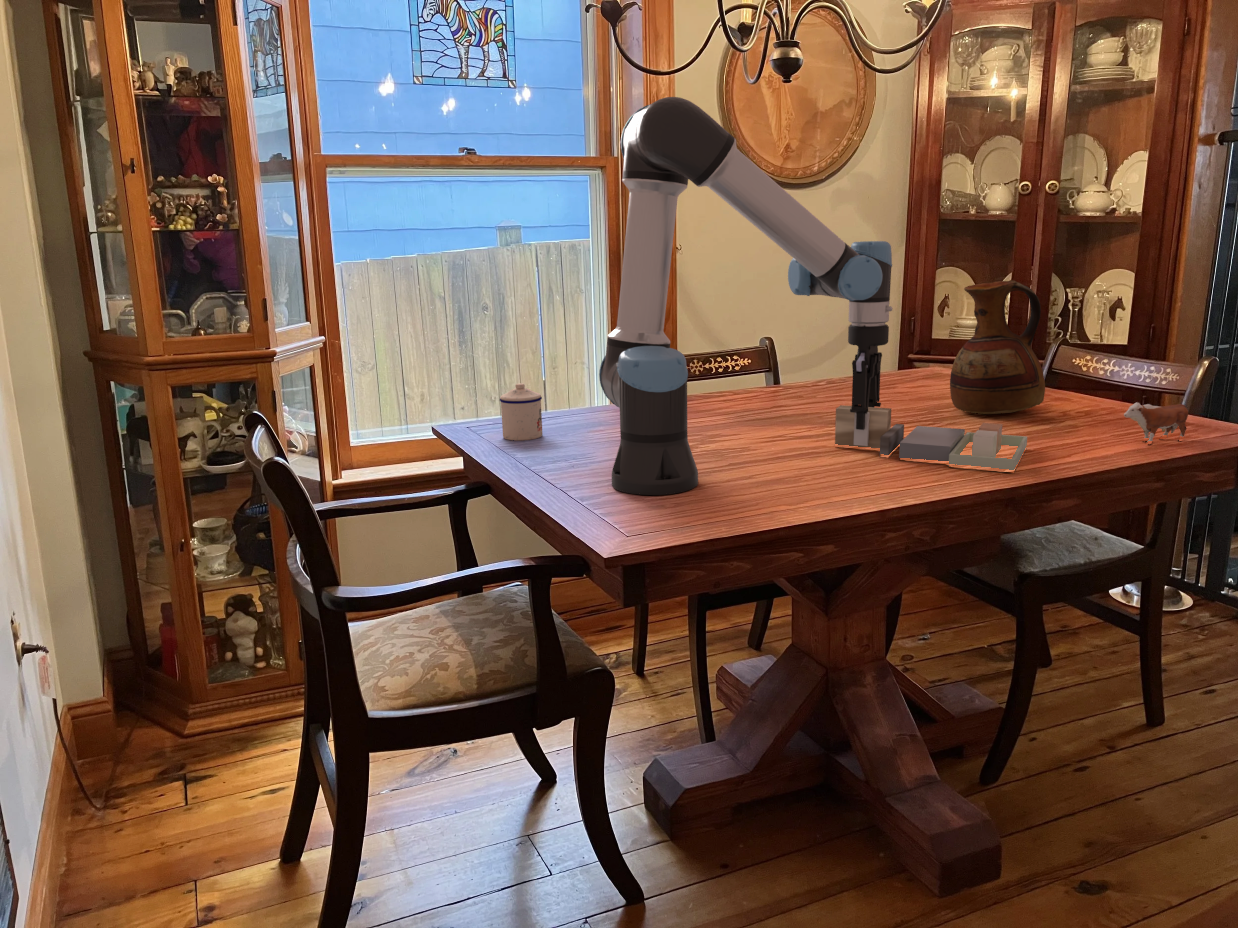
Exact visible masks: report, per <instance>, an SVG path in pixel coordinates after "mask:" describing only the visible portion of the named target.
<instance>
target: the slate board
mask: <svg viewBox="0 0 1238 928" xmlns="http://www.w3.org/2000/svg"><path fill="white" fill-rule="evenodd" d="M965 431H966V429H964V428H955V427H953V428H952V427H940V426H939V427H938V426H928V425H927V426H925V425H924V426H923V425H917V426H915V428H913V429H912V430H911V432H909V433H908V434H907V435H906V436H904V439H903V440H902V441H901V442H900V447H899V448H898V450H899V452H898V454H899V455H898V459H899V458H910V459H911V458H912V459H924V460H925V459H926V460H938V461H949V454H950V453H951V452H952V450H953V449H954V448H955V447H956V445H957V444H958V443H959V442H960V440H961V439H962V438H963V437H964V436H965V434H966V433H965Z"/></svg>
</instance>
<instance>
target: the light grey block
mask: <svg viewBox="0 0 1238 928" xmlns="http://www.w3.org/2000/svg"><path fill="white" fill-rule="evenodd" d="M974 433H975V434H974V435H973V445H972V456H983V457H996V447H997V433H998V432H997V431H983V430H979V429H977V430H976V431H975V432H974Z"/></svg>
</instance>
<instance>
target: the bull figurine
mask: <svg viewBox="0 0 1238 928" xmlns="http://www.w3.org/2000/svg"><path fill="white" fill-rule="evenodd" d="M1123 416H1124V418H1127V419H1131V420H1133V421H1134V422H1137V424H1138V426H1139V427H1140V428H1141V430H1142V431H1143V434H1144V438H1149V440H1148V441H1153V439H1154V437H1155V436H1156V433H1157V431H1158V429H1161V432H1163V434H1162V435H1167V436H1169V435H1168V434H1169V433H1171V434H1174V432H1175V431H1176V430H1177V429H1179V430H1180V435H1179V437H1180V436H1182V437H1183V436H1184V437H1185V434H1186V432H1187V425H1186V422H1187V420H1188V417H1189V410H1188V409H1187V407H1186V405H1185V404H1183V403H1178V404H1173V405H1172V404H1171V405H1165V406H1158V405H1152V404H1150V403H1147V404H1142V405H1141V403H1140V402H1138V401H1137V402H1135V403H1133V404H1132V405H1130V406H1129V407H1128V410H1126V411H1125V412H1124V413H1123ZM1148 441H1147V442H1148Z"/></svg>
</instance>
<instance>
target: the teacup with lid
mask: <svg viewBox="0 0 1238 928" xmlns="http://www.w3.org/2000/svg"><path fill="white" fill-rule="evenodd" d="M542 397H543V396H542V395H541V393H540V392H536V391H533V390H531V389H530V388H526V386H525V383H523V382H522V383H521V382H520V383H516V384H515V387H514V388H513V389H510V390H509V391H508V392H506V393H503V394H502V395H501V396H499V401H500V408H501V409H500V410H501V425H502V427H501V428H502V438H503V439H505V440H507V441H513V440H514V441H517V442H521V441H523V442H524V441H531V440H536V439H540V438H541V437H542V436H543V418H542V416H543V415H542V413H543V412H542V399H543V398H542Z"/></svg>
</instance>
